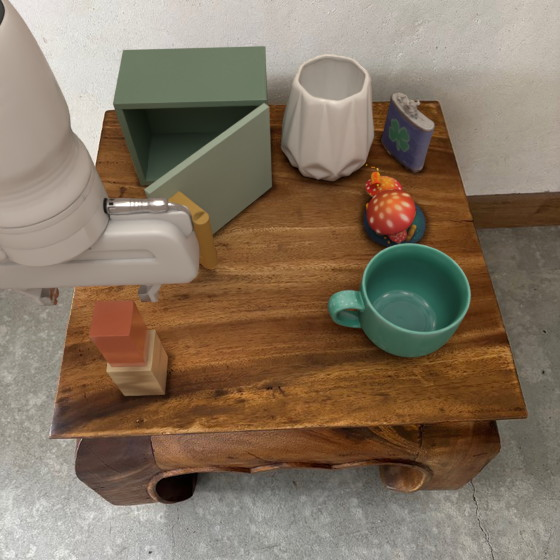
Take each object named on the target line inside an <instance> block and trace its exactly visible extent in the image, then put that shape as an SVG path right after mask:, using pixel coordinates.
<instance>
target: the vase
mask: <svg viewBox="0 0 560 560" xmlns="http://www.w3.org/2000/svg"><path fill="white" fill-rule="evenodd" d="M372 82H373V81H372V77H371V75H370V73H369V71H368V70H367V69H366V68H365V67H364V66H363V65H361V63H360V62H359V61H358V60H356V59H354V58H353V57H349V56H346V55H342V54H335V53H323V54H318V55H315V56H313V57H311V58H308V59H307V60H305V61H303V62H302V63H301V64H300V65H298V67H297V69H296V72H295V75H294V77H293V79H292V83H291V87H290V91H289V93H288V94H289V95H288V98H287V101H286V105H285V109H284V112H283V117H282V122H281V137H280V138H281V139H280V148H281V151H282V152H283V154H284V155H285V157H287V159H288V161H289V164H290V165H291V166H292V167H294V168H296V169H298V172H299V174H301V175H302V176H303V177H306V178H310V179H316V180H318V181H319V180H322V181H326V182H335V181H337V180H339V179H341V178H342V177H349V176H351V175H352V173H354V172H356V171H358V170H360V169H361V168H362V167H363V166H364V165H366V162H367V159H368V156H369V152H370V150H371V147H372V145H373V142H374V139H375V125H374V117H373V115H374V114H373V112H374V111H373V83H372Z"/></svg>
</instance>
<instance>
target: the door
mask: <svg viewBox="0 0 560 560" xmlns="http://www.w3.org/2000/svg"><path fill="white" fill-rule="evenodd" d="M270 117H271V116H270V106H269V105H266V104H265V103H263V104H262V105H261V106H259V107H258V108H256V109H255V110H254V111H252V112H251V113H249V114H248V115H247V116H245V117H244V118H243V119H241V120H240V121H238V122H237V123H236V124H234V125H233V126H231V127H230V128H229V129H227V130H226V131H225V132H223V133H222V134H220V135H219V136H218V137H216V138H215V139H213V140H212V141H211V142H209V143H208V144H206V145H205V146H204V147H202V148H201V149H200V150H198V151H197V152H195V153H194V154H193V155H191V156H190V157H188V158H187V159H186V160H184V161H183V162H182V163H180V164H179V165H177V166H176V167H175V168H173V169H172V170H170V171H169V172H168V173H166V174H165V175H163V176H162V177H161V178H159V179H158V180H157V181H155V182H154V183H152V184H151V185H147V186H146V187H145V188H144V189H143V190H144V194H145V197H146V199H149V198H150V197H163V198H167V199H168V201H169V202H173V203H177V204H180V205H184V206H186V207H187V208H188V209H189V210H190V213H191V215H192V219H193V223H194V230H193V231H194V233H195V235H196V238H197V240H198V243H199V250H200V255H199V265H202V267H204V268H205V269H207V270H213V269H216V268H217V266H218V265H219V259H218V255H217V254H218V253H217V249H216V244H215V240H214V234H215V233H217V232H218V231H219V230H220V229H221V228H223V227H224V226H225V225H226V224H228V223H229V222H230V221H232V220H233V219H234V218H235V217H236V216H238V215H239V214H241V213H242V212H243V211H244V210H245V209H246V208H247V207H249V206H250V205H251V204H253V203H254V202H255V201H256V200H257V199H259V198H260V197H262V195H264V194H265V193H266V192H268V191H269V190H270V189H271V188H273V177H272V172H273V171H272V146H271V144H272V143H271V121H270V119H271V118H270Z"/></svg>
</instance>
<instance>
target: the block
mask: <svg viewBox="0 0 560 560" xmlns="http://www.w3.org/2000/svg"><path fill="white" fill-rule="evenodd" d="M92 310H93V311H92V316H91V322H90V328H89V333H88V337H89V338H90V340H91V342H92V343H93V344H94V345H95V347H96V348H97V349H98V351H99V353H100V354H101V355H102V356H103V359H104V360H105V361H106V362H108V363H109V365H110V366H111V367H133V366H147V361H148V352H149V342H150V332H149V330H150V329H149V328H148V326H147V324H146V323H145V320H144V318H143V316H142V314H141V313H140V310H139V308H138V306H137V304H136V302H135V301H134V300H133V299H132V300H131V299H129V300H126V299H125V300H96V301H94V305H93V309H92Z"/></svg>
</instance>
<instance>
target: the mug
mask: <svg viewBox="0 0 560 560" xmlns="http://www.w3.org/2000/svg"><path fill="white" fill-rule="evenodd" d="M359 284H360V285H359V289H358V290H353V289H346V290H340V291H337V292H335V293H333V294H332V295H331V296H330V297H329V298H328V301H327V310H328V314H329V316H330V318H331V320H332V321H333V322H334V323H335V324H337V325H339V326H342V327H347V328H353V329H354V328H355V329H362V331H363V333H364V334H365V335H366V337H367V338H368V339H369V340H370V341H371V342H372V343H373V344H374V345H375V346H376V347H378V348H379V349H381V350H383V352H386V353H388V354H391V355H394V356H396V357H402V358H421V357H424V356H427V355H430V354H432V353H435V352H436V351H438V350H439V349H441V348H442V347H443V346H444V345H446V344H447V343H448V342H449V340H450V339H451V338H452V337H453V335H454V334H455V333H456V331H457V330H458V329H459V326H460V325H461V323H462V321H463V320H464V318H465V316H466V314H467V312H468V311H469V308H470V304H471V297H472V293H471V286H470V282H469V280H468V278H467V275H466V274H465V272H464V271H463V268H462V267H461V266H460V265H459V264H458V263H457V262H456V261H455V260H454V259H453V258H452V257H450V256H449V255H448V254H446V253H445V252H444V251H441V250H439V249H437V248H435V247H432V246H429V245H425V244H422V243H421V244H420V243H415V244H414V243H406V244H398V245H394V246H391V247H386V248H384V249H382V250H380V251H378V252H377V253H376V254H375V255H374V256H372V258H371V259H370V260H369V262H367V265H366V266H365V269H364V271H363V272H362V277H361V280H360V283H359Z"/></svg>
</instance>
